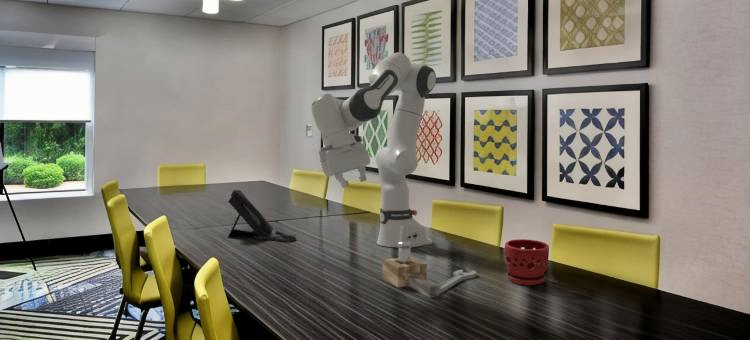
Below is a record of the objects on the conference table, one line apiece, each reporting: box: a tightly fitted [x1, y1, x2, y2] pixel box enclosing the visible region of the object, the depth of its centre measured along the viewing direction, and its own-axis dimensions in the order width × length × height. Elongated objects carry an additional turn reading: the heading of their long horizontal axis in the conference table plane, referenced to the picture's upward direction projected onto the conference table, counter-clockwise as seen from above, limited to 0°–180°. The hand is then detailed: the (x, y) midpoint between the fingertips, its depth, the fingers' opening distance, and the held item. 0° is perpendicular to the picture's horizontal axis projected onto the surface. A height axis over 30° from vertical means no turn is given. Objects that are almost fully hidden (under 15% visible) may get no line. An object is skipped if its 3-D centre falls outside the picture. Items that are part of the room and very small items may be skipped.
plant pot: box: [504, 239, 550, 286], centre depth 166 cm, size 13×13×12 cm
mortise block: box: [381, 256, 440, 299], centre depth 160 cm, size 10×22×6 cm, turn 27°
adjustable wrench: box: [437, 269, 477, 295], centre depth 165 cm, size 25×6×2 cm, turn 142°
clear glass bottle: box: [397, 241, 412, 265], centre depth 165 cm, size 4×4×10 cm
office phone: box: [227, 189, 297, 243], centre depth 229 cm, size 29×28×20 cm
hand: (355, 183), depth 171 cm, fingers open, 8 cm apart
